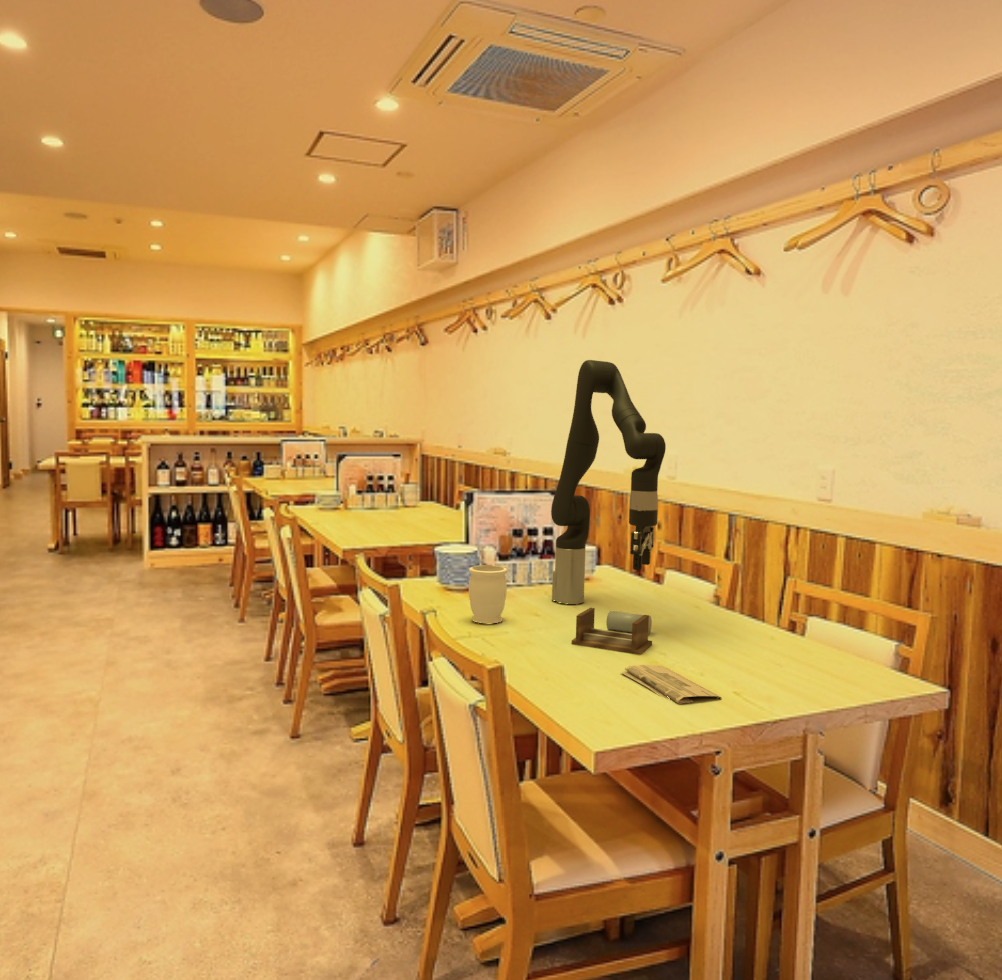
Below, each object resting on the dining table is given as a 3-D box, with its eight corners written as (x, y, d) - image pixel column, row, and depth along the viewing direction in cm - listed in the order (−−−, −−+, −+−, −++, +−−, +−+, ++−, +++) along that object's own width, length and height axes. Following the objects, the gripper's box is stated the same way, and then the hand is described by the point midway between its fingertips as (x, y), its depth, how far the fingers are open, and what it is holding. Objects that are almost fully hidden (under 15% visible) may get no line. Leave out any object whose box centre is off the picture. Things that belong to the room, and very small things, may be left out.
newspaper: (617, 675, 181) (618, 664, 181) (663, 675, 185) (664, 665, 185) (672, 709, 160) (674, 697, 159) (723, 709, 164) (724, 697, 164)
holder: (571, 644, 203) (572, 615, 202) (585, 634, 212) (586, 606, 211) (640, 654, 195) (641, 624, 194) (651, 644, 204) (653, 615, 203)
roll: (606, 631, 216) (606, 612, 215) (612, 627, 220) (612, 608, 220) (645, 637, 211) (646, 618, 210) (651, 632, 215) (652, 613, 215)
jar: (507, 617, 228) (508, 565, 227) (504, 626, 218) (505, 572, 217) (470, 615, 229) (471, 564, 228) (465, 625, 219) (466, 571, 218)
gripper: (637, 504, 222) (635, 561, 223) (622, 509, 209) (620, 570, 211) (663, 505, 219) (661, 564, 220) (650, 510, 206) (648, 572, 207)
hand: (641, 567), depth 215 cm, fingers open, 8 cm apart
